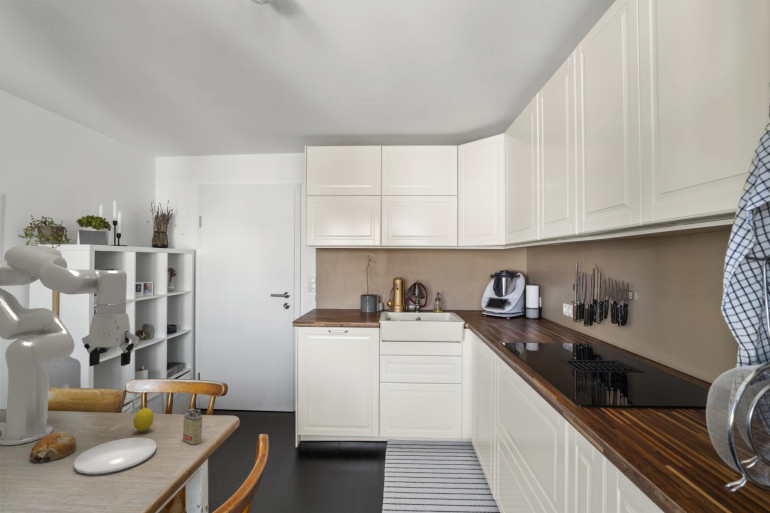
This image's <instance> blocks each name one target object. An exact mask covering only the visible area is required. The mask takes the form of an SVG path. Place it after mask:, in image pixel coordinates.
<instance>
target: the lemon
mask: <svg viewBox="0 0 770 513" xmlns="http://www.w3.org/2000/svg"><path fill="white" fill-rule="evenodd" d="M153 423H154V412H153V411H152V409H150V408H148V407H143V408H141V409H139V410H138V411H136V413H135V415H134V418H133V427H134V428H135V430H136V431H139V432H141V433H145V431H146V430H148V429H150V428H151V426H152V425H153Z"/></svg>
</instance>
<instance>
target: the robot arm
mask: <svg viewBox="0 0 770 513" xmlns="http://www.w3.org/2000/svg"><path fill="white" fill-rule="evenodd" d="M38 280H39V281H40V283H41V284H42V285H43V286H44V287H45V288H47V289H50V290H52V291H54V292H57V293H61V294H64V295H83V294H89V295H90V294H91V295H93V294H96V301H95V302H96V304H95V305H94V306H93V307H92V308H93V311H95V314H93V316H92V318H91V321H90V327H89V334H87V335H86V336H84V337H82V338H81V342H82V343H83V347H84V348H85V349H86V350H87V354H89V364H88V365H89V367H93V366H97V365H99V364H100V361H101V358H100V357H101V356H100V354H101V352H100V350H99V349H102V348H119V349H120V350H121V353H120V366H121V367H125V366H127V365H130V364H131V358H132V357H131V355H132V354H131V352H132V351H133V350H134V349H135V347H137V344H138V343H139V341H140V337H139V336H137V335H135V334H133V333H132V332H131V325H130V324H131V323H130V318H129V313H127V285H128V284H127V280H128V277H127V272H126V271H124V270H121V269H119V270H117V269H116V270H114V269H111V270H106V269H105V270H104V269H103V270H101V269H73V268H72V269H71V268H68V263H67V260H66V258H64V257H63V255H62V253H61V252H60V251H59V250H58V249H56V248H55V247H51V246H45V245H42V246H41V245H28V244H20V245H16V246H13V247H11V248H9V249H7V250H6V251H5V253H4V256H3V260H0V339H3V340H6V341H12V340H14V341H12V342H11V343H9V344H8V346H7V347H6V349H5V353H4V354H5V355H4V356H5V362H6V366H7V374H8V375H7V376H8V377H7V379H8V380H7V382H8V383H7V396H6V397H7V398H6V413H5V422H4V421H3V422H0V432H1V435H0V445H1V446H15V445H21V444H27V443H31V442H35V441H38V440H41V439H42V438H44V437H45V436H47V435H49V434H51V433H53V429H54V428H53V426H52V425H49V424H48V408H49V393H50V392H49V390H50V375H49V373H48V371H47V370H46V369H45V367H44V365H45V364H48V363H52V362H57V361H60V360H64V359H66V358H68V357H70V356H71V355H72V354H73V352H74V350H75V340H74V338H73V336H72V335H71V333H70V331H69V329H68V328H67V327H66V326H65V325H64V323H63V322H62V320H61V318H60V317H59V316H58V315H57V313H56V312H54V311H53V310H52V309H49V308H44V307H39V308H37V307H36V308H25V307H24V306H22V304H20V302H19V300H18V298H17V297H16V296H14V294H12V293H10V292H9V291H7V290H6V289H4V288H2V287H11V286H13V287H15V286H25V285H30V284H32V283H34V282H37V281H38ZM130 341H131V342H130Z"/></svg>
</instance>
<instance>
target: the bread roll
mask: <svg viewBox="0 0 770 513" xmlns="http://www.w3.org/2000/svg"><path fill="white" fill-rule="evenodd" d="M77 447H78V446H77V439H76V437H74V436H73V435H72V434H71V433H69V432H66V431H54V432H51V433H50V434H49V435H47V436H45V437H43V438H41V439H39V441H38V440H37V442H36V443H35V444H34V446H33V447H32V448H31V451H30V454H29V460H31V462H34V463H38V464H42V463H47V462H48V463H49V462H53V461H56V460H60V459H64V458H65V457H67V456H70V455H71V454H72V453H74V452H75V451H76V449H77Z"/></svg>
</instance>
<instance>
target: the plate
mask: <svg viewBox="0 0 770 513" xmlns="http://www.w3.org/2000/svg"><path fill="white" fill-rule="evenodd" d="M156 451H157V443H156V441H155V440H153V439H150V438H147V437H127V438H120V439H115V440H111V441H108V442H103V443H100V444H98V445H96V446H93V447H91V448H89V449H87V450H85V451H83V452H81V453H80V454H79V455H78V456H77V457H76V458H75V460H74V463H73V468H74V470H75V471H77V472H78V473H81V474H85V475H99V474H108V473H113V472H114V473H115V472H118V471H122V470H125V469H128V468H131V467H134V466H136V465H138V464H141V463H143V462H144V461H146V460H148V459H149V458H151V457H152V456H153V455H154V454H155V453H156Z"/></svg>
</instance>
